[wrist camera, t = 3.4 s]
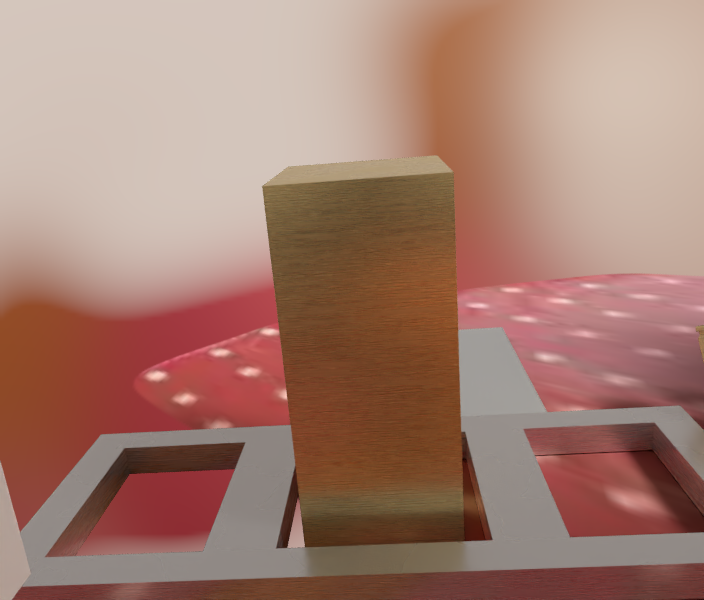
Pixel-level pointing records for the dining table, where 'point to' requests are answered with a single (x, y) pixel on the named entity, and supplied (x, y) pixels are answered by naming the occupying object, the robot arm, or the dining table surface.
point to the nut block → (370, 347)
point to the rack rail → (388, 559)
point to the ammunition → (701, 339)
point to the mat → (493, 376)
